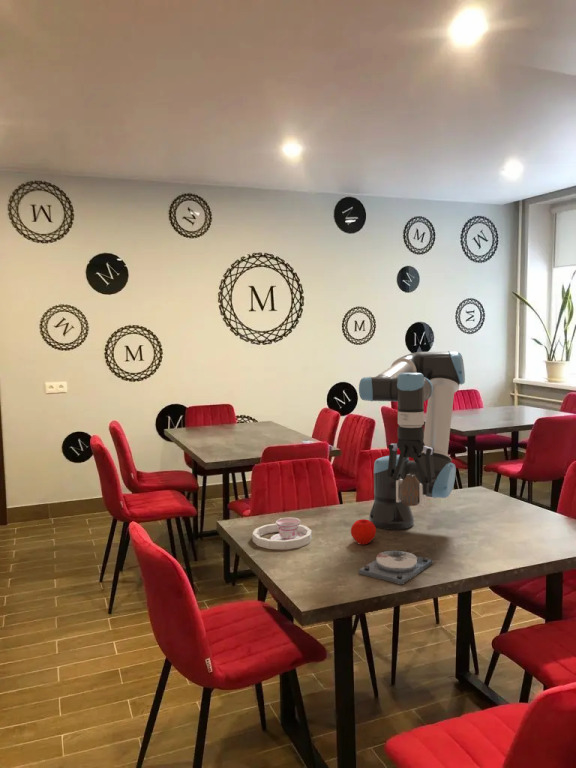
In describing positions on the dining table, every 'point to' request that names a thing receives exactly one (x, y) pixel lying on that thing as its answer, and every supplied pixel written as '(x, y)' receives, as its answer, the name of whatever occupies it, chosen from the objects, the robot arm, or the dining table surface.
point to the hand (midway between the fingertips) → (410, 503)
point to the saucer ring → (281, 543)
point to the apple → (363, 531)
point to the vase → (410, 490)
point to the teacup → (287, 529)
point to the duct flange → (395, 566)
